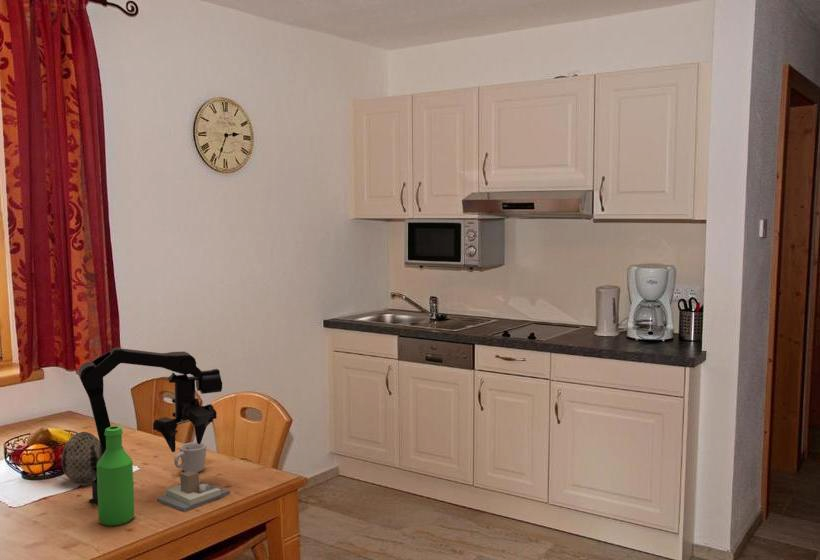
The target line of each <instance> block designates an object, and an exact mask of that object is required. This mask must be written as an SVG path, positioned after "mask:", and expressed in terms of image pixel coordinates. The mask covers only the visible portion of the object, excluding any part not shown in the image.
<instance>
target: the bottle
mask: <svg viewBox="0 0 820 560" xmlns="http://www.w3.org/2000/svg"><path fill="white" fill-rule="evenodd" d="M123 433H124V432H123V427H121V426H119V425H115V426H114V425H113V426H111V427H108V428H107V429H105V434H104V435H105V436H106V451H105V452H104V454H103V455H102V457H101V458H100V460H99V461H98V463H97V491H98V505H97V511H98V514H97V515H98V522H100V523H101V524H103V525H105V526H111V527H112V526H114V527H115V526H120V525H121V526H122V525H124V524H126V523H128V522H130V521H131V520H132V519H133V518H134V516H135V492H134V489H135V488H134V470H133V458H132V457H131V456H129V454H128V453H127V451H126V450H125V449H124V447H123V440H122V439H123V438H122V437H123V436H122V435H123ZM122 447H123V448H122Z"/></svg>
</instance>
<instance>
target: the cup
mask: <svg viewBox="0 0 820 560" xmlns="http://www.w3.org/2000/svg"><path fill="white" fill-rule="evenodd" d="M179 451H180V452H179V453H177V454H175V456H174V460H173V464H174V466H175V468H176V469H182V470H183V472H186V471H190V470H193V471H195V472H198V473H200V472H202V471H203V470H204V469H205V466H206V456H207V455H206V454H207V444H206V443H204V442H201V444H197V441H192V442H187V443H184V444H181V445H180V446H179ZM179 458H180V459H181V460H180V464H179Z"/></svg>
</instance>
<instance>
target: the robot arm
mask: <svg viewBox="0 0 820 560" xmlns="http://www.w3.org/2000/svg"><path fill="white" fill-rule="evenodd" d="M121 364H126V365H137V366H146V367H155V368H160V369H162V368H163V369H165V370H169V371H171V372H172V373H171V374H170V375H169V376H168V377H167V378H166V380H167V381H168V383H171V384H174V398H172V399H171V401H172V403H173V404H174V408H175V409H174V411H175V412H172V418H171V417H166V416H165V417H161V418H157V419H155V420H154V421H153V423H152V429H153V430H154V431H157V432H158V433H160V434H161V435H162V437H163V438H164V440H165V441H166V443H167V445H168V447H169V449H170V451H171V452H172V453H175V452H176V435H177V433H178V431H179V430H176V429H177V428H178V425H181V424H185V423H189V422H191V423H192V424H193V426H194V432H195V433H194V434H195V439H196V442H197V444H201V443H202V441H203V439H204V434H205V432H206V430H207V427H208V426H209V425H210V424H211V423H213V422H214V420H215V419H217V418H218V417H217V415H218V414H217V413H218V412H217V410H216V409H215V408H214V405H213V404H206V405H200V400H199V398H196V390H197V391H198V392H200V394H201V395H204V394H213V393H221V392H222V390H223V381H222V377H221V371H220V370H219V369H218V368H214V369H211V370H210V369H209V370H208V369H207V370H201V369H200V368H199V367H198V366H197V361H196V358H195V357H194V356H193V355H191V354H190V353H189V352H187V351H170V352H153V351H146V350H138V349H137V350H136V349H128V348H122V347H118V346H117V347H116V346H115V347H113V348H112V349H110V350H108V351H107V352H105V353H104V354H102V355H101V356H98V357H96V358H95V359H94V360H92V361H87V362H84V363H83V364H82V365H80V366H79V368H78V371H77V373H78V377H79V379H80V382H81V384H82V386H83V388H84V390H85V392H86V394H87V396H88V399H89V403H90V408H91V411H92V416H93V420H94V423H95V427H96V432H97V436H98V437H97V438H98V440H99V441H100V458H101V457H102V455H103V454H104V452H105V451H106V436H105V435H104V434H105V429H107V428H108V427H112V426H111V421H110V418H109V414H108V410H107V405H106V401H105V397H104V386H105V385H104V377H106V376H107V375H108V374H109V373H111V372H112V371H113V370H115V368H116V367H117V366H119V365H121ZM176 373H178V374H176ZM188 375H191V376H188ZM173 417H174V418H173ZM122 448H123V449H124V447H123V446H122ZM92 471H93V474H94V477H95V478H94V480H91V491H92V493H91V494H92V498H90V499H88V500H89V501H88V502H90V503H92V504H95V505H97V506H98V491H97V465H96V466H95V467H94V468H93V470H92Z"/></svg>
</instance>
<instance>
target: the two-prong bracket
mask: <svg viewBox="0 0 820 560" xmlns="http://www.w3.org/2000/svg"><path fill="white" fill-rule="evenodd" d="M179 477H180V478H179V479H180V484H178V485H175V486H171V487H168V488H165V489H164V490H165V491H164V492H165V495H168V496H170V497H172V498H174V499H177V500H179V501H181V502H184V503H186V504H188V505H193V504H196V503H199V502H202V501H205V500H207V499H210V498H213V497H216V496H219V495H221V489H218V488H215V489H212V490H210V485H208V484H209V483H208V484H206V492H203V493H200V494H199V483H200V472H195V471H193V470H190V471H186V472H185V471H183V472H180V475H179Z"/></svg>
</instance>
